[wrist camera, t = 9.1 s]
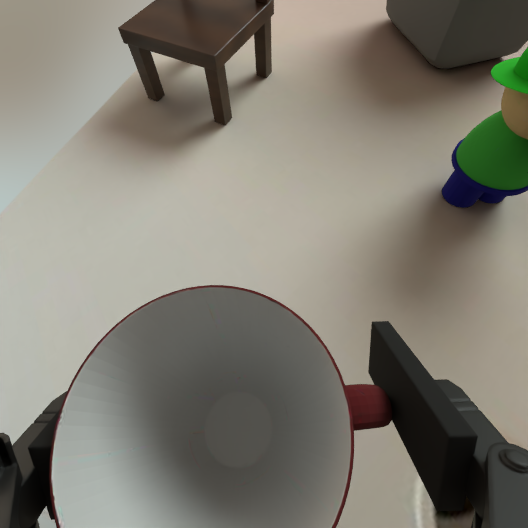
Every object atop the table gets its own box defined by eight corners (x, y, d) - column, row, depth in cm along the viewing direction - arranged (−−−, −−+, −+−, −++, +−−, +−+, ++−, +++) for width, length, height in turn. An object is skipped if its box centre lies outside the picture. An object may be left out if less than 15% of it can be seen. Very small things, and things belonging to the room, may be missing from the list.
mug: (328, 327, 20) (372, 242, 11) (382, 479, 16) (514, 534, 7) (157, 372, 19) (55, 317, 10) (173, 544, 15) (32, 698, 6)
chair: (226, 127, 37) (198, -41, 24) (145, 98, 40) (81, -65, 27) (274, 71, 42) (273, -95, 29) (198, 49, 45) (166, -111, 32)
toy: (453, 236, 29) (598, 74, 16) (412, 168, 33) (500, -6, 20) (542, 216, 30) (750, 45, 17) (490, 152, 34) (626, -27, 21)
